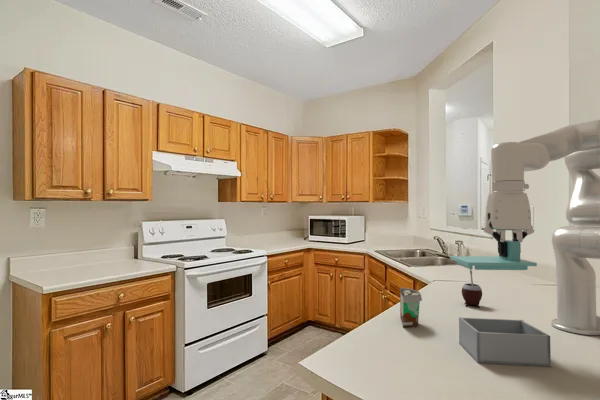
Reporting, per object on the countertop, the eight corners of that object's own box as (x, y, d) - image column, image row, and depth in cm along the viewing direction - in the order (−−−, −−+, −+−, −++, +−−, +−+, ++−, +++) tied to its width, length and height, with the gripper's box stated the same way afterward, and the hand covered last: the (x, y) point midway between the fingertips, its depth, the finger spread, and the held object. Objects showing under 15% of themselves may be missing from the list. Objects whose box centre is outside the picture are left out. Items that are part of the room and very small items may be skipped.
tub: (522, 346, 91) (521, 320, 91) (550, 366, 79) (550, 336, 79) (459, 343, 92) (459, 317, 93) (477, 362, 80) (477, 332, 81)
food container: (424, 330, 102) (424, 296, 103) (403, 329, 104) (403, 295, 104) (419, 318, 114) (419, 288, 115) (399, 317, 116) (399, 287, 116)
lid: (509, 263, 98) (509, 239, 98) (536, 271, 86) (536, 242, 86) (450, 263, 99) (449, 238, 100) (468, 270, 87) (467, 242, 87)
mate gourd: (473, 309, 127) (472, 268, 128) (455, 303, 134) (455, 265, 135) (487, 307, 130) (486, 267, 131) (469, 302, 137) (469, 264, 138)
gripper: (530, 189, 96) (532, 255, 95) (471, 189, 97) (472, 254, 97) (547, 187, 89) (549, 258, 88) (483, 187, 90) (484, 258, 89)
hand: (509, 256), depth 92 cm, fingers closed on lid
